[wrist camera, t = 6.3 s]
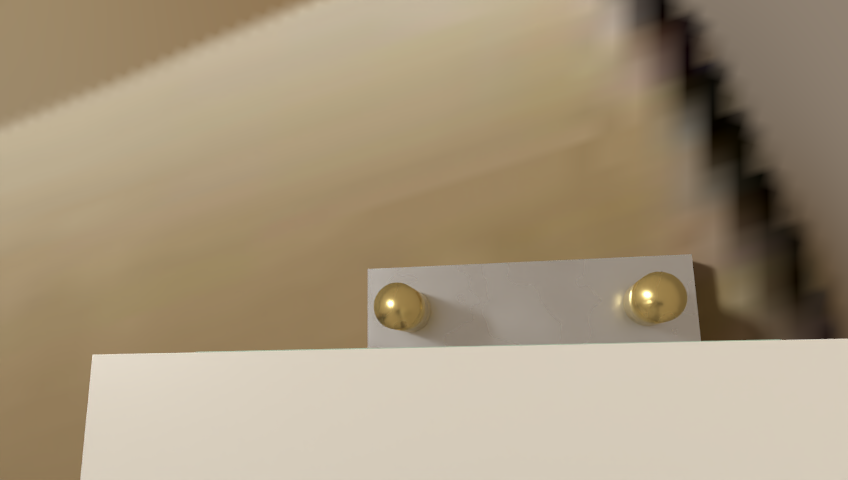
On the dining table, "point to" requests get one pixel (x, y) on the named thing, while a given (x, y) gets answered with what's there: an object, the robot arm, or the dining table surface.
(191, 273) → the dining table surface
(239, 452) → the block
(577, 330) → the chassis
